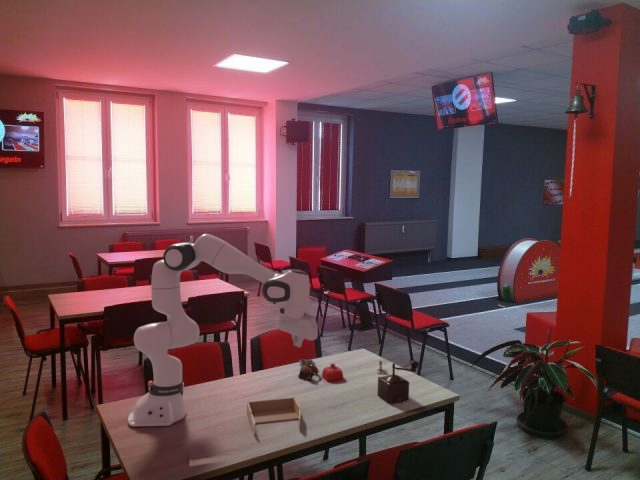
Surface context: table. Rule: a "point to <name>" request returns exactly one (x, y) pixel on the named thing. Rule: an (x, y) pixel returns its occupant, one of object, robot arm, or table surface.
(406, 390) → the manual coffee grinder
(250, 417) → the left flap
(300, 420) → the right flap
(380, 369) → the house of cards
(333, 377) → the butter dish
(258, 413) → the carton
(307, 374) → the pottery mug
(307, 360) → the egg carton
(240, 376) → the table surface
